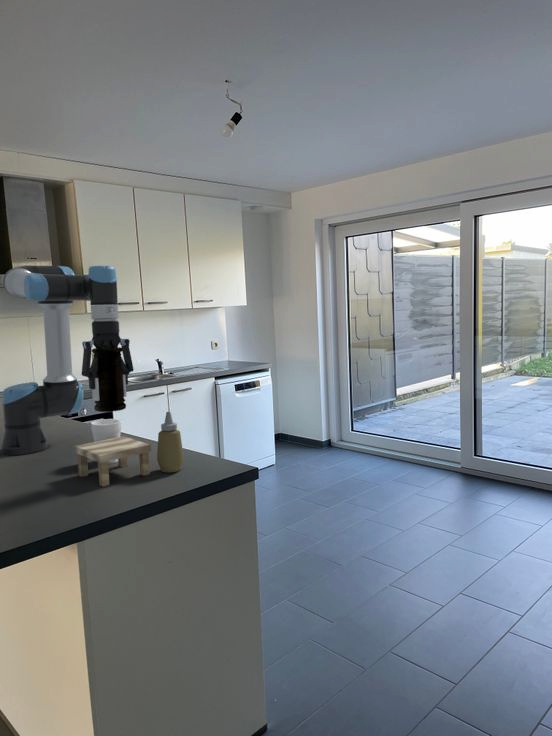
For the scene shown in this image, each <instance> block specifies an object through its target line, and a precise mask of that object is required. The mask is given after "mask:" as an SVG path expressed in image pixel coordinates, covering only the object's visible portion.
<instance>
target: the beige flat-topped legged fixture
mask: <svg viewBox="0 0 552 736" xmlns="http://www.w3.org/2000/svg"><path fill="white" fill-rule="evenodd" d="M151 445H152V444H149V443H146V442H144V441H140V440H137V439H135V438H130V437H127V436H125V435H123V436H120V437H117V438H112V439H107V440H102V441H98V442H94V441H93V442H88V443H84V444H79V445H74V453H75V454H76V455H77V467H78V468H77V469H78V476H79V477H82V478H83V477H87V476H89V469H88V468H89V467H88V465H89V464H88V459H90V460H92V461H95V462H97V469H98V483H99V486H101V487H107V486H110V473H109V471H110V470H109V464H108V461H111V460H115V459H118V461H117V462H118V467H121V468H124V467H128V457H132V456H136V455H139V456H138V457H139V474H140V475H141V476H144V477H145V476H148V475H150V472H151V470H150V456H149V455H150V454H149V453H150V452H152V446H151Z"/></svg>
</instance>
